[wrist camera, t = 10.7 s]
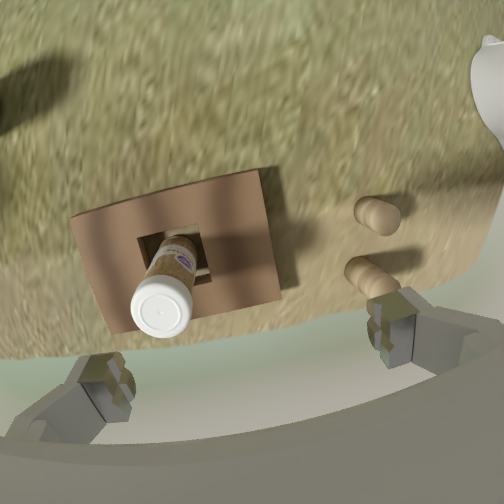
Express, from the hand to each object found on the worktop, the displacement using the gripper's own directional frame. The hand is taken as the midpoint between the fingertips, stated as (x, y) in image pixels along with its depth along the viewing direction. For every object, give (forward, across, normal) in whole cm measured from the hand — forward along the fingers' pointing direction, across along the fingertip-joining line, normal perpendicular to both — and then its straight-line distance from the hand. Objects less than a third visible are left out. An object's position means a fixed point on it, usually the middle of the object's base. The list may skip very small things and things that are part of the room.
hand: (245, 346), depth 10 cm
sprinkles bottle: (+25, +7, +4) cm, 27 cm away
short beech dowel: (+26, -15, +4) cm, 30 cm away
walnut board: (+25, +7, +4) cm, 26 cm away
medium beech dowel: (+26, -13, +11) cm, 31 cm away
